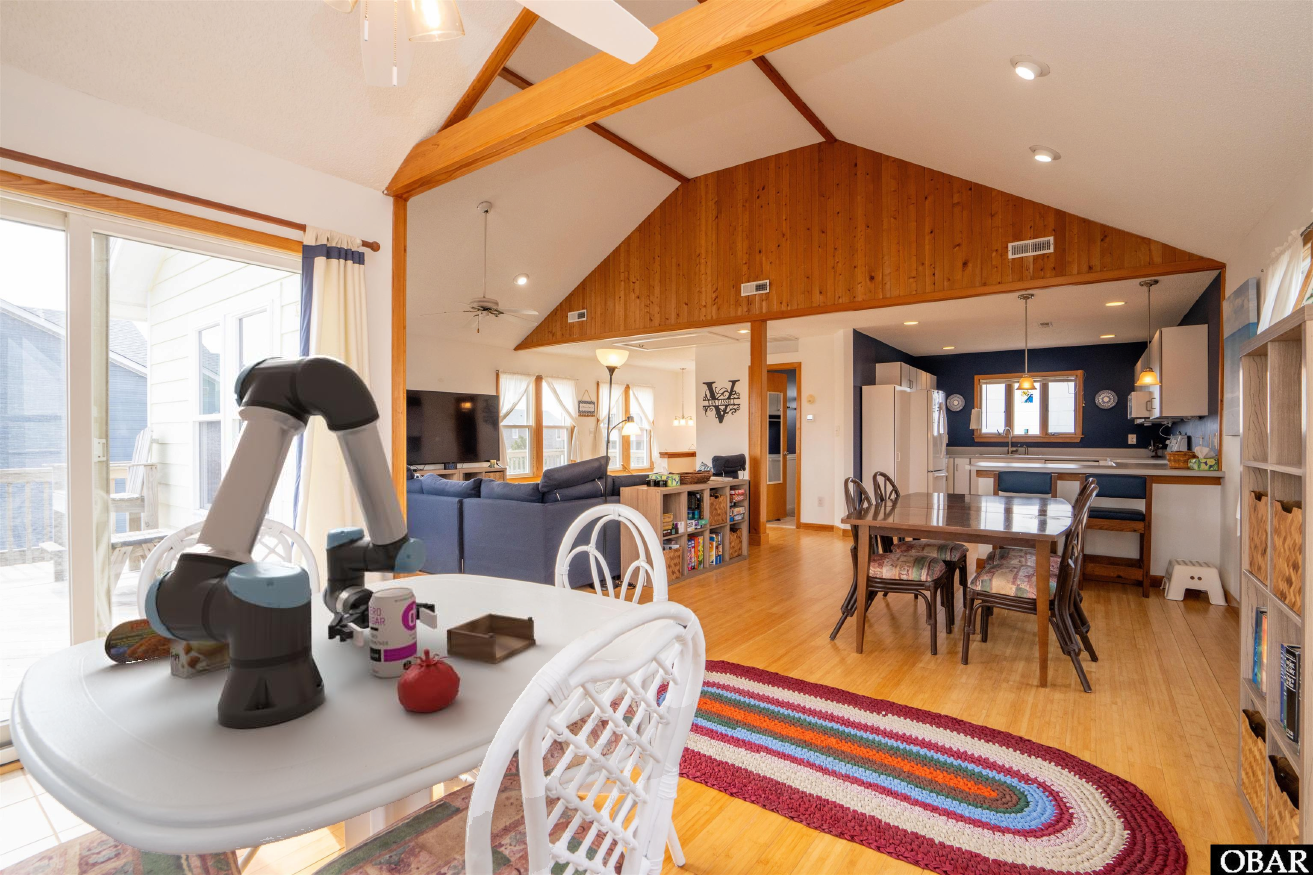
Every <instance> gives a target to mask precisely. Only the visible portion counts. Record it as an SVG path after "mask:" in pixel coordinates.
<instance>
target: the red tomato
mask: <svg viewBox="0 0 1313 875" xmlns="http://www.w3.org/2000/svg"><path fill="white" fill-rule="evenodd" d="M430 652H431V651H430V649H428V648H425V649H423V654H424V658H423V657H422V656H418V655H417V657H415V656H414V658H415V659H417V660H419V661H417V663H416V664H410V665H408V666H407V667H409V666H411V665H413V666H412V667H411V668H409V669H408V670H407V671H406V672H405V673H404V674H403V675H401V676H400V677H399V679H398V682H397V687H396V688H397V689H396V690H397V698H398V702H399V704H400V705H401V706H402V707H403V708H404V709H406V710H408V711H411V712H419V713H426V714H427V713H433V712H437V711H439V710H441V709H443V708H446V707H448V706H449V705H450V704H452V703H453V702H454V701H455V700H456V698H457V696H458V694H459V691H460V690H459V689H460V684H461V683H460V682H461V677H460V676H459V674H458V673H457V671H456V670H455V668H454V667H453V666H452V665H451V664H449V663H448V662H446V661H445V660H443V659H447V658H448V659H449V658H453V656H441V657H440V655H441V654H440V653H434V654H433V656H431V655H430ZM436 656H437V657H440V658H437V659H435V658H436ZM407 667H403V668H407Z"/></svg>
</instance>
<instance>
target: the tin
mask: <svg viewBox="0 0 1313 875" xmlns="http://www.w3.org/2000/svg"><path fill="white" fill-rule="evenodd" d="M104 653H105V655H106V656H107V657H108V658H109V659H110V660H111V661H113V662H115V663H117V664H121V663H126V662H132V661H138V660H145V659H150V660H152V659H151V658H154V659H156V658H155V657H159V658H163V657H162V656H164V657H169V656H170V638H168V637H165V636H162V635H160V634H159V633H157V632H156V631H155V630H154V629H153V628H152V627H151V625H150V623H149V621H148V620H147V618H146V617H143V618H137V619H131V620H130V619H129V620H128V621H127V620H126V621H124V622H123V621H122V622H121V623H119V624H118V625H116V626H115V627H113V628H112V629H111V631H109V633H108V635H106V639H105V642H104ZM168 655H169V656H168ZM145 661H146V660H145Z"/></svg>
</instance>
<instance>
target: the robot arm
mask: <svg viewBox="0 0 1313 875" xmlns="http://www.w3.org/2000/svg"><path fill="white" fill-rule="evenodd" d="M233 385H234V387H233V393H234V395H236V397H235V398H234V399H235V402H236V404H237V407H239V409H238V412H237V413H238V416H239V418H240V419H241V420H242V422H243V425H242V427H241V430H240V432H239V435H238V437H237V439H236V442H235V445H234V447H233V450H232V452H231V455H230V458H229V459H228V462H227V465H226V467H225V470H224V473H223V474H222V477H221V480H220V482H219V485H218V487H217V490H216V492H215V495H214V497H213V500H212V502H211V505H210V507H209V510H208V513H207V515H206V516H205V517H206V518H205V520H204V523H203V525H202V527H201V530H200V533H199V535H198V537H197V540H196V543H195V545H193V547H190V548H188V549H187V550H184V551H182V552H181V553H180V555H179V557H178V559H177V562H176V564H175V567H174V568H172V569H169V570H167V571H165V572H163V573H162V575H159V576H157V577H156V578H155V579H154V580H153V581H152V583H151V584H150V586H149V587H148V590H147V591H146V595H145V598H144V615H145V618H147V620H148V621H149V623H150V625H151V627H152V628H153V629H154V630H155V631H156V632H157V633H159V634H160V635H162V636H165V637H168V638H174V639H177V640H181V641H189V642H190V641H204V642H218V643H229V655H230V666H229V670H228V674H227V676H226V680H225V683H224V685H223V688H222V691H221V694H220V697H219V700H218V703H217V721H218V723H219V724H221V725H222V726H224V727H228V728H236V729H250V728H259V727H266V726H270V725H271V726H272V725H275V724H280V723H284V722H287V721H290V720H293V719H296V718H299V717H301V716H303V715H305V714H307V713H310V712H311V711H314V710H315V709H316V708H318V707H319V706H320V705H321V704H322V703H323V702H324V701H325V696H326V695H325V682H324V680H323V678H322V675H321V673H320V670H319V667H318V665H317V663H316V661H315V658H314V655H313V643H312V642H313V641H312V639H313V636H312V633H313V631H312V615H313V614H312V594H313V593H312V588H311V581H310V575H309V572H308V571H307V570H306V569H305V568H304V567H302V566H300V565H298V564H295V563H290V562H284V561H272V562H267V561H257V562H255V561H254V560H253V558H252V555H253V552H254V548H255V546H256V543H257V541H258V539H259V535H260V532H261V530H262V527H263V524H264V521H265V518H266V516H267V513H268V510H269V507H270V505H271V502H272V499H273V497H274V493H275V490H276V487H277V485H278V482H279V479H280V476H281V475H282V474H281V473H282V471H283V468H284V465H285V463H286V460H287V456H288V454H289V452H290V449H291V445H292V444H293V440H294V437H296V436H299V435H302V434H303V433H305V431H306V429H307V426H308V424H309V421H310V419H311V417H314V416H315V417H316V416H320V417H322V418H323V420H324V421H325V424H326V427H327V430H328V431H329V432H331V433H333V434H335V436H336V439H337V442H338V445H339V447H340V451H341V454H342V457H343V460H344V463H345V466H346V468H347V472H348V475H349V478H350V481H351V483H352V487H353V489H354V493H355V496H356V499H357V503H358V505H359V509H360V511H361V514H362V518H363V521H364V523H365V526H366V529H367V532H368V536H369V537H368V536H367V537H366V535H365V531H364V529H363V528H362V527H358V526H346V527H345V526H344V527H338V528H333V529H331V530H329V531H328V532H327V535H326V548H325V552H326V573H327V575H326V576H327V579H326V582H327V583H326V586H325V588H324V590H323V592H322V601H323V604H324V606H325V607H326V609H327V610H328V611H330V613H331V614H333V618H332V619H331V621H330V622H329V624H328V625H327V634H328V635H327V639H328V640H331V641H332V640H334V639H336V637H338V636H339V642H340V643H344V642H347V641H348V640H350V641H351V642H353V643H354V644H355V645H357V646H358V647H362V646H364V645H365V644H364V642H365V641H364V640H365V639H364V636H365V635H364V630H366V629H369V602H370V600H371V598H372V594H373V593H374V592H375V591H372V590H371V589H370V588H367V587H366V583H365V581H366V578H365V576H366V573H381V574H396V575H406V574H415V573H417V572H419V571H420V570H421V568H423V566H424V565H425V562H426V558H427V548H426V545H425V543H424V542H422V540H421V539H419V538H415V537H410V534H409V531H408V527H407V523H406V521H405V517H404V514H403V510H402V506H401V504H400V500H399V497H398V494H397V491H396V490H397V489H396V487H395V484H394V480H393V477H392V472H391V469H390V466H389V463H388V460H387V457H386V453H385V450H384V447H383V444H382V439H381V435H380V432H379V429H378V426H377V423H378V422H379V420H380V418H381V417H380V413H379V410H378V406H377V403H376V401H375V399H374V397H373V395H372V393H371V391H370V389H369V388H368V386H367V384H366V383H365V381H364V380H363V379H362V378H361V376H360V375H359V374H357V372H356V371H355V370H354V369H352V368H351V367H350V366H349V365H348V364H346V363H345V362H343V361H342V360H340V359H338V358H335V357H332V356H328V355H321V354H320V355H317V354H316V355H311V356H296V357H295V356H294V357H280V356H273V357H272V356H271V357H267V358H260V359H257V360H253V361H251V362H250V363H248V364H246V365H245V366H244V367H243V368H242V369H241V370H240V371H239V373H238V375H237V376H236V378H235V381H234V384H233ZM416 621H419V622H420V623H421V624H423V625H425V626H427V627H429V628H430V629H432V630H435V629H438V614H437V613H436V605H435V604H434V603H428V602H417V601H416Z"/></svg>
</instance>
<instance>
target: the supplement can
mask: <svg viewBox="0 0 1313 875" xmlns="http://www.w3.org/2000/svg"><path fill="white" fill-rule="evenodd" d="M373 592H374V593H373V594H372V598H371V600H370V602H369V628H368V629H369V631H368V632H369V664H370V665H369V667H370V669H369V670H370V672H371V673H372V674H373V675H374V676H375V677H377V678H382V679H383V678H384V679H386V678H387V679H388V678H389V679H390V678H391V679H392V678H395V677H396V678H397V677H401V676H402V675H403V674H404V673H405V672H406V671H407V670H408V669H409V668H411V667H412V666H413V665H411V666H409V667H407V666H408V665H410V664H416V663H417V662H418V659H415V658H414V656H415V657H418V639H417V638H418V635H417V634H418V632H417V629H418V628H417V625H418V624H417V620H416V602H417V597H416V595H415V593H414V592H413V589H412V588H410V587H404V586H403V587H400V586H399V587H389V588H384V589H379V590H377V591H373ZM403 667H407V668H403Z"/></svg>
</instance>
